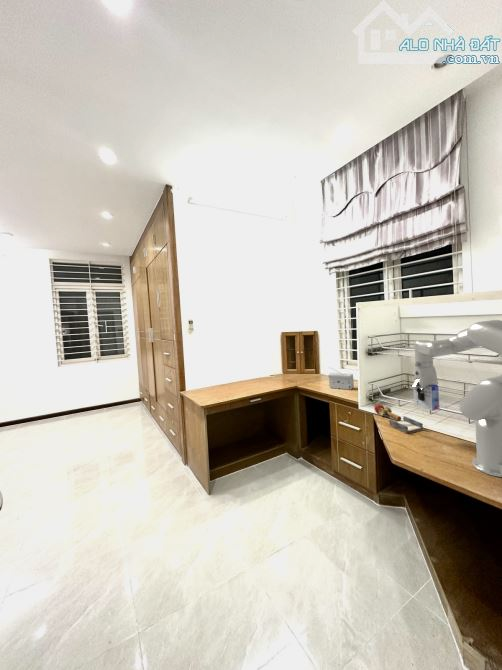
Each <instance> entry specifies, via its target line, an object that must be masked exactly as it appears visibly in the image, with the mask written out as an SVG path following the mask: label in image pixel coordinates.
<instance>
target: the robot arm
mask: <svg viewBox="0 0 502 670" xmlns="http://www.w3.org/2000/svg"><path fill="white" fill-rule="evenodd" d="M413 347H414V360H415V362H414V365H415V369H414V374H413V375H414V383H413V384H414V385H413V384H412V388H413V390H414V389H415V390H416V391H417V392H418V399H419V400H422V401H424V400H425V399H424V393H423V390H424V388H427V386H430V385H438V384H439V382H438V376H437V371H436V368H435V366H434V358H437V357H441V356H442V357H443V356H449V355H453V354H454V355H455V354H458V353H462V352H465V351H470V350H473V349H476V348H480V347H482V348H483V349H487V351H491V352H494V353H496V354H499V356H500V355H501V356H502V320H500V319H491V320H490V319H489V320H484V321H478V322H475V323H473V324H470V325H469V327H468V328H465V329H463V330H460V331H459V332H458V333H457V334H456V335H455V336H454V337H450V338H446V339H439V340H433V341H431V340H427V339H425V340H424V339H421V340H416V341H414V343H413ZM420 388H421V390H420ZM459 411H460V412H461V414H462V415H463V416H464V417H465V418H466V419H468V420H471V421H475V442H476V444H475V445H476V447H475V449H476V457H475V458H473V459H472V461H471V463H472V466H473V467H474V468H475V469H476V470H478V471H480V472H481V473H484V474H486V475H489V476H493V477H498V478H502V374H499V375H497V376H494V377H489V378H485V379H482V380H480V381H479V382H477V383H476V384H475V385H474V386H473V387H472V388H471V389H470V390H469V391H468V392H467V393H466V394H465V395H464V396H463V397H462V398H461V400H460V401H459Z"/></svg>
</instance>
